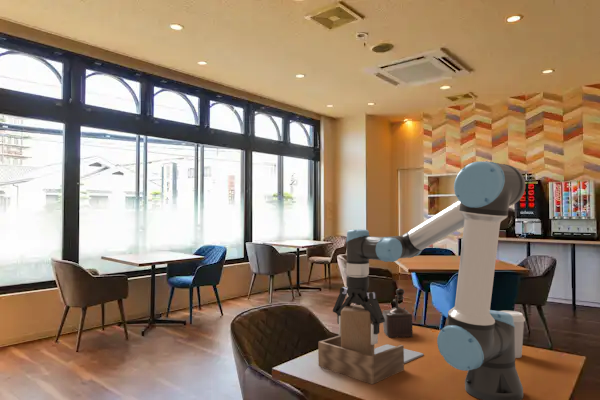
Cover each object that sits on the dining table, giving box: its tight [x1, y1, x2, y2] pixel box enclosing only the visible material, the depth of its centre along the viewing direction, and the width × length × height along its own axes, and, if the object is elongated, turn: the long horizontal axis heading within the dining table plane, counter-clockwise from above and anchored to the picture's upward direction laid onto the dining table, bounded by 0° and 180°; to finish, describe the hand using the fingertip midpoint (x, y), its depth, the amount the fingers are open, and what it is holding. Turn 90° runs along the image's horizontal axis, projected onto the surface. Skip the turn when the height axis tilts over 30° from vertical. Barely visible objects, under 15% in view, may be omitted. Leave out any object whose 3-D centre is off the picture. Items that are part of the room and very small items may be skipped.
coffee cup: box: [499, 310, 526, 359], centre depth 153 cm, size 10×10×15 cm
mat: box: [374, 343, 424, 365], centre depth 155 cm, size 16×13×1 cm
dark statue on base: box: [382, 287, 414, 339], centre depth 184 cm, size 16×11×18 cm
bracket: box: [317, 334, 405, 385], centre depth 142 cm, size 23×17×8 cm
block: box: [341, 304, 375, 356], centre depth 142 cm, size 10×10×20 cm
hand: (357, 339), depth 142 cm, fingers closed on block, 13 cm apart
